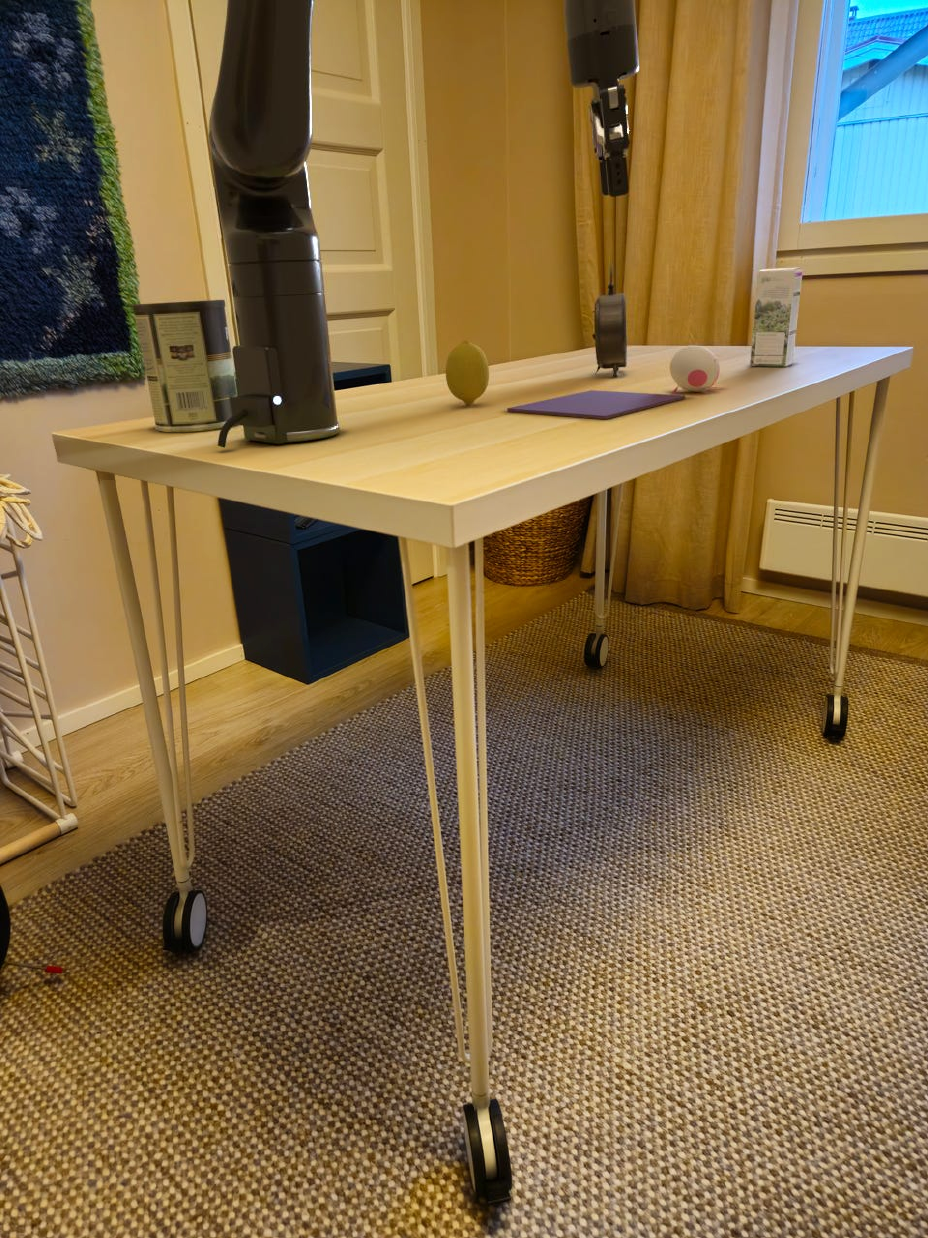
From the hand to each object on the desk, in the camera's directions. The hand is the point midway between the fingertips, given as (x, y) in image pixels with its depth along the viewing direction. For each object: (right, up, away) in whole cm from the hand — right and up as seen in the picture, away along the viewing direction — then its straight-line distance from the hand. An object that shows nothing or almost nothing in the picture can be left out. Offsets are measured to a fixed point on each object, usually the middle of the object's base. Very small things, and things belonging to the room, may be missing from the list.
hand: (615, 194), depth 97 cm
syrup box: (+32, -9, +37) cm, 50 cm away
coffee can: (-50, -27, +3) cm, 57 cm away
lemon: (-17, -23, +9) cm, 30 cm away
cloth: (-1, -24, +4) cm, 24 cm away
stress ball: (+13, -20, +12) cm, 27 cm away
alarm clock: (+5, -11, +35) cm, 37 cm away
